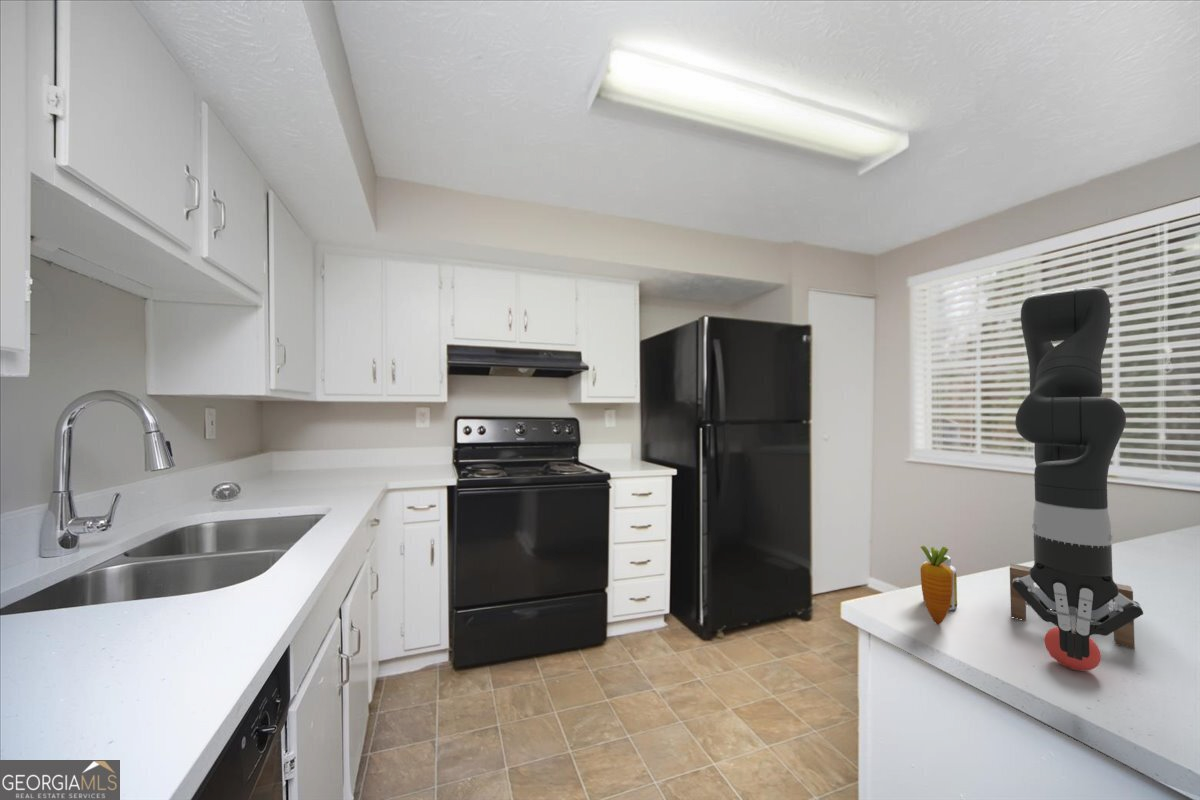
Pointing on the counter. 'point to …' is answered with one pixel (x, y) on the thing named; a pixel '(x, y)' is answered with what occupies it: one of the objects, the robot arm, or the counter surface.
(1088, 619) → the robot arm
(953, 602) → the supplement bottle
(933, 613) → the carrot
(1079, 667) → the ball
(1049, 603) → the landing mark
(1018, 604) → the bridge
